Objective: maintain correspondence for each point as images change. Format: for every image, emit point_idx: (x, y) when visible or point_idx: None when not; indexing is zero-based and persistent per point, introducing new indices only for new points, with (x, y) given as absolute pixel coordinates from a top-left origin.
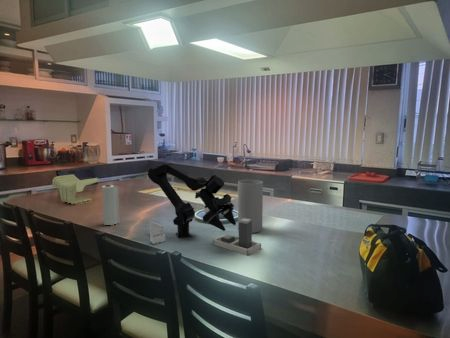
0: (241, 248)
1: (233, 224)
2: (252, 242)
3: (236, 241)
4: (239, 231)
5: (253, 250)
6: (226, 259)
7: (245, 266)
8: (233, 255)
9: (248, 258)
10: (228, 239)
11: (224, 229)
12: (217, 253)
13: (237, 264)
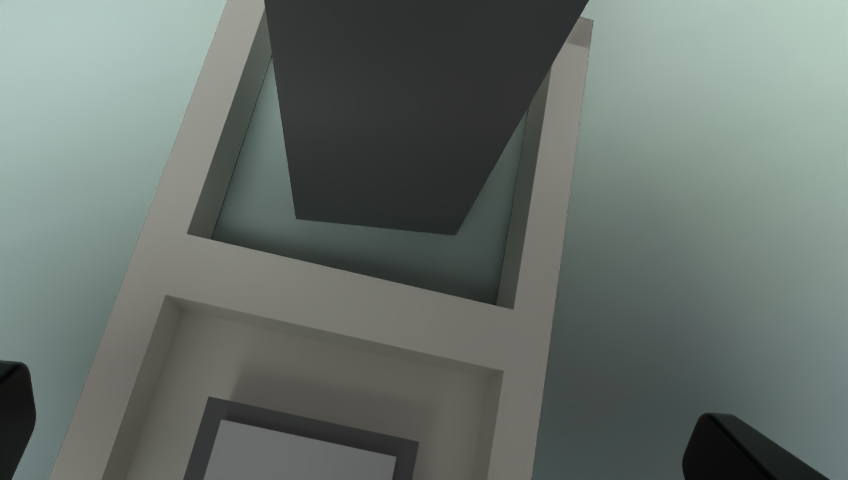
0: (578, 120)
1: (19, 455)
2: (249, 60)
3: (346, 300)
4: (543, 61)
5: None
6: (817, 251)
7: (826, 5)
8: (667, 221)
9: (640, 34)
10: (407, 445)
11: (740, 435)
12: None
13: (841, 89)
